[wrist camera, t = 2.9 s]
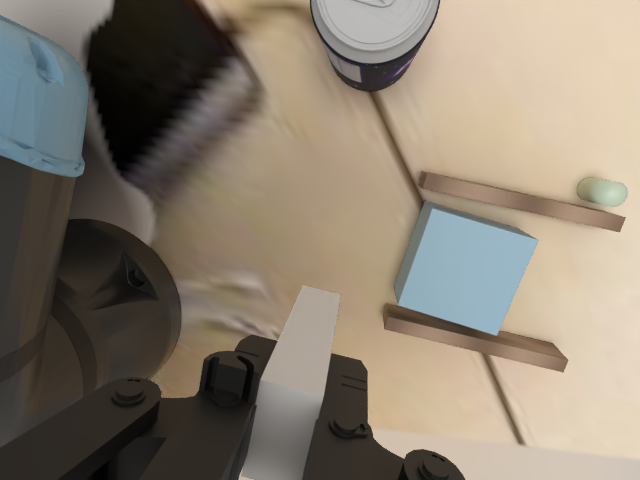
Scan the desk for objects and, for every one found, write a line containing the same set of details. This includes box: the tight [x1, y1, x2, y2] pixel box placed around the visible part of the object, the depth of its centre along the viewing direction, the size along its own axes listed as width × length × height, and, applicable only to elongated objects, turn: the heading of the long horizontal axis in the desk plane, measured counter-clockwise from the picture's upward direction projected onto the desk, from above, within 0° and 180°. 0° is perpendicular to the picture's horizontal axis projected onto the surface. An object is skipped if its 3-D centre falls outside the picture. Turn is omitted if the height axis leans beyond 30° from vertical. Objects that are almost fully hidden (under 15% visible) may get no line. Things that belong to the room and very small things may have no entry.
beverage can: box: [310, 0, 440, 91], centre depth 23 cm, size 6×6×12 cm
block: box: [394, 201, 538, 336], centre depth 30 cm, size 7×7×4 cm
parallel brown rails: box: [383, 171, 626, 372], centre depth 30 cm, size 13×12×2 cm
